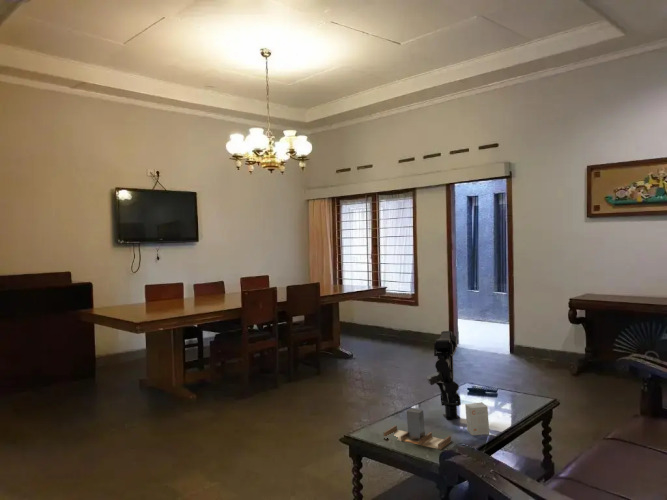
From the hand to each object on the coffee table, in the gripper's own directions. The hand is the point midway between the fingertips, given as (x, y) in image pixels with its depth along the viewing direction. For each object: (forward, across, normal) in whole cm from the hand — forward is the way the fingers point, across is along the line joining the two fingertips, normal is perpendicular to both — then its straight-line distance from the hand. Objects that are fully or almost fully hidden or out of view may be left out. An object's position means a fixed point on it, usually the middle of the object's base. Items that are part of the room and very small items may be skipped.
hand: (446, 400), depth 236 cm
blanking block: (+12, +10, -18) cm, 24 cm away
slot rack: (+13, +10, -18) cm, 24 cm away
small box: (+13, +10, +10) cm, 19 cm away
